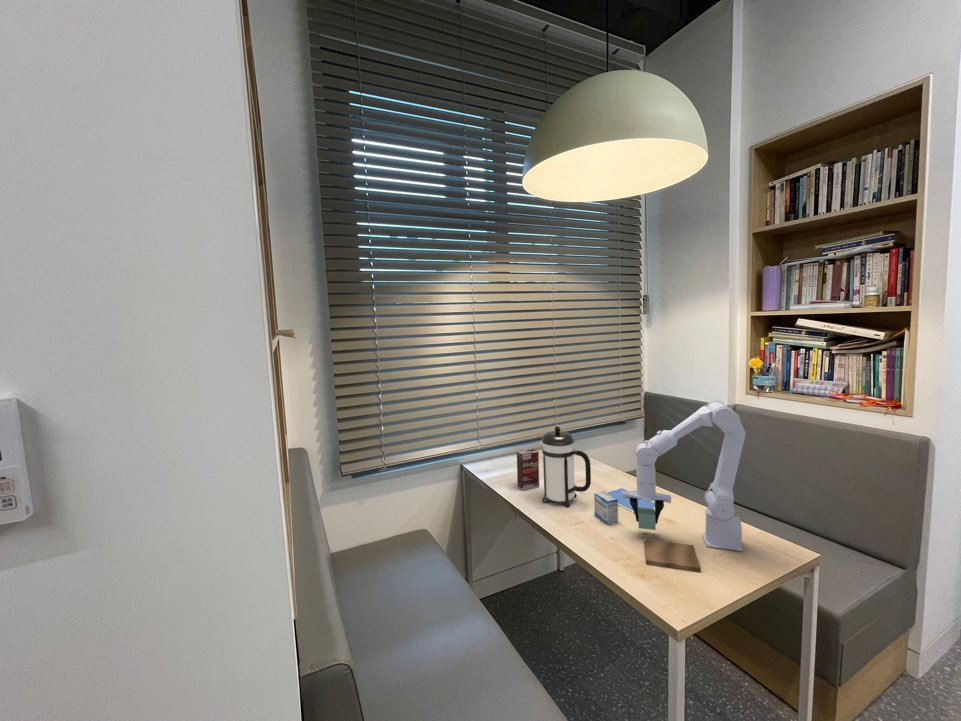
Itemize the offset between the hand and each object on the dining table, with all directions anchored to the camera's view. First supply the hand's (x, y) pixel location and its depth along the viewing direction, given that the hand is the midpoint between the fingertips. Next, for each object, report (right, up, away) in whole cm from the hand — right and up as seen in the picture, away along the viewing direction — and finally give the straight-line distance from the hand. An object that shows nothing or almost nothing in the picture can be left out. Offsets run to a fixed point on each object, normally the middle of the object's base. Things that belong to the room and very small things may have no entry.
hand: (646, 521), depth 131 cm
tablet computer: (+4, -3, +26) cm, 26 cm away
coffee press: (-21, -3, +29) cm, 36 cm away
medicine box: (-9, -4, +12) cm, 16 cm away
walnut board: (+2, -6, -12) cm, 13 cm away
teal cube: (0, -1, 0) cm, 2 cm away
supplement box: (-33, -3, +43) cm, 55 cm away
